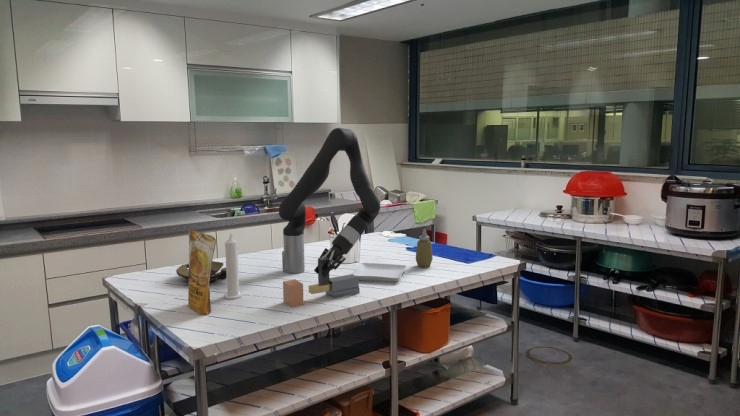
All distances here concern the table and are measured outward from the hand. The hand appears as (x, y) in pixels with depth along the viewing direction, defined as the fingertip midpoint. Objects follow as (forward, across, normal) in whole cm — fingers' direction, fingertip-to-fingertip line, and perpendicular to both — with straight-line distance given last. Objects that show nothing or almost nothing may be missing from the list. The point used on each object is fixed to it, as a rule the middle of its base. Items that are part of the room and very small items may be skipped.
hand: (319, 273), depth 203 cm
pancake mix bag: (+36, -13, -22) cm, 45 cm away
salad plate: (-18, -13, +33) cm, 40 cm away
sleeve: (0, 0, +14) cm, 14 cm away
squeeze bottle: (-38, -16, +52) cm, 66 cm away
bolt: (+1, 0, +9) cm, 9 cm away
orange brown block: (+15, 0, -1) cm, 15 cm away
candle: (+26, -20, -12) cm, 35 cm away
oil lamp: (+28, -48, -14) cm, 58 cm away
